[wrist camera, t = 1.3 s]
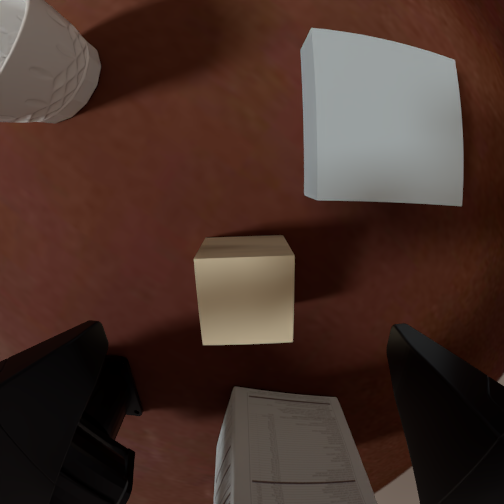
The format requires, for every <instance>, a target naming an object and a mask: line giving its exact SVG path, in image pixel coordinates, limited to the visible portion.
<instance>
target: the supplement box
mask: <svg viewBox="0 0 504 504" xmlns="http://www.w3.org/2000/svg"><path fill="white" fill-rule="evenodd" d="M214 504H377V502H376V499H375V496H374V493H373V490H372V488H371V485H370V482H369V479H368V476H367V474H366V472H365V469H364V467H363V464H362V461H361V458H360V455H359V453H358V450H357V448H356V445H355V442H354V440H353V437H352V435H351V432H350V429H349V427H348V424H347V421H346V419H345V416H344V414H343V411H342V408H341V406H340V403H339V401H338V399H337V397H326V396H312V395H300V394H290V393H281V392H272V391H264V390H257V389H250V388H243V387H237V386H236V387H234V388H233V390H232V393H231V397H230V400H229V404H228V407H227V410H226V414H225V417H224V421H223V425H222V428H221V432H220V435H219V439H218V443H217V451H216V468H215V485H214Z"/></svg>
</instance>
